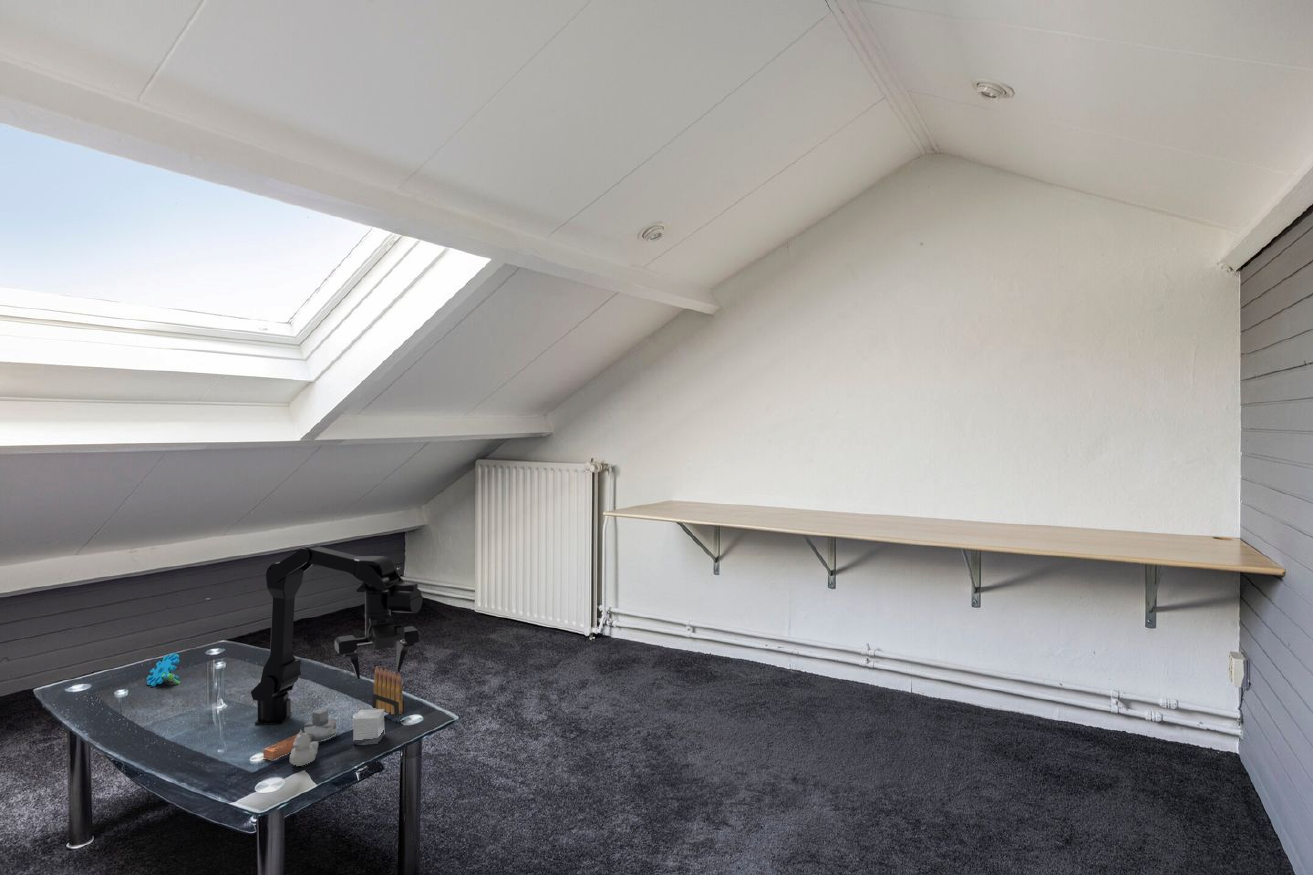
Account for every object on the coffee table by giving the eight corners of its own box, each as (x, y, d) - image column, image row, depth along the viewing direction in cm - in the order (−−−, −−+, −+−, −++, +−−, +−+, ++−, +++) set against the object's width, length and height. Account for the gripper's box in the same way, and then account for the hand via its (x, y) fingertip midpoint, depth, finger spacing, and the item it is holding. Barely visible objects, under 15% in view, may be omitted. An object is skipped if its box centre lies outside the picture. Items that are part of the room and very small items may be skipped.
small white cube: (353, 745, 177) (353, 718, 177) (360, 735, 183) (360, 709, 183) (378, 744, 178) (377, 718, 178) (384, 734, 183) (384, 708, 183)
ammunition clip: (371, 713, 197) (371, 666, 196) (378, 710, 198) (377, 664, 198) (398, 722, 191) (398, 674, 190) (404, 720, 192) (404, 672, 192)
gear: (140, 675, 219) (170, 646, 223) (157, 686, 222) (186, 657, 226) (150, 691, 211) (180, 660, 215) (167, 701, 214) (197, 671, 218)
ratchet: (321, 728, 187) (321, 703, 187) (343, 733, 184) (342, 708, 184) (257, 757, 171) (256, 730, 171) (279, 763, 168) (279, 736, 168)
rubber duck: (282, 766, 167) (282, 730, 166) (309, 755, 173) (309, 719, 172) (299, 772, 164) (299, 735, 164) (325, 760, 170) (325, 724, 170)
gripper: (343, 624, 173) (344, 693, 174) (427, 612, 183) (427, 677, 184) (333, 613, 183) (334, 678, 183) (413, 602, 193) (414, 664, 193)
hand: (378, 675), depth 186 cm, fingers open, 9 cm apart
